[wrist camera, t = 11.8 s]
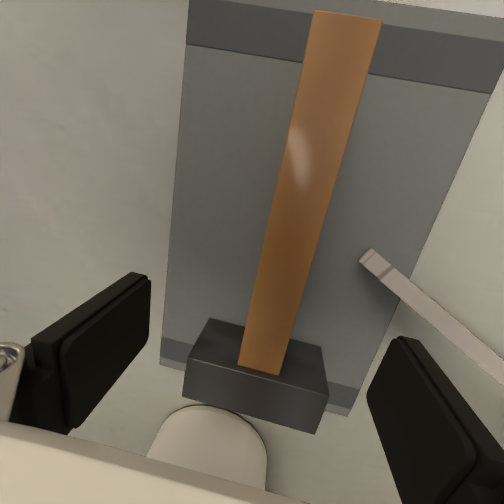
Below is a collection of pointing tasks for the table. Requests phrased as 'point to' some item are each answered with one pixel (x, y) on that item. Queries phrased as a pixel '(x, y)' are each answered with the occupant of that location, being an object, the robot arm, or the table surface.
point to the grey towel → (349, 177)
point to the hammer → (290, 243)
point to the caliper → (434, 314)
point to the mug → (212, 445)
